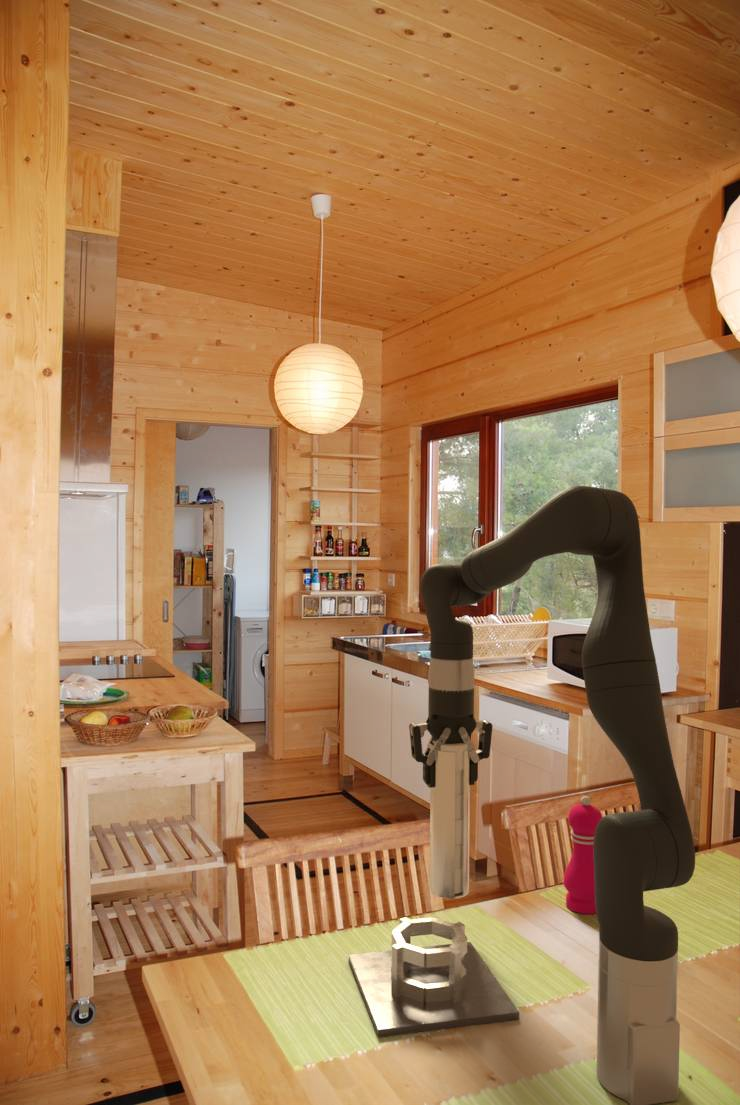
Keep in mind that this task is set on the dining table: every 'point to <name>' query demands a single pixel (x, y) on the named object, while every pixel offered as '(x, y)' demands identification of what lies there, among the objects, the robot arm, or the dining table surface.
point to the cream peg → (450, 822)
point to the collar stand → (429, 982)
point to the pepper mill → (582, 858)
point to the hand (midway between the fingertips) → (450, 784)
